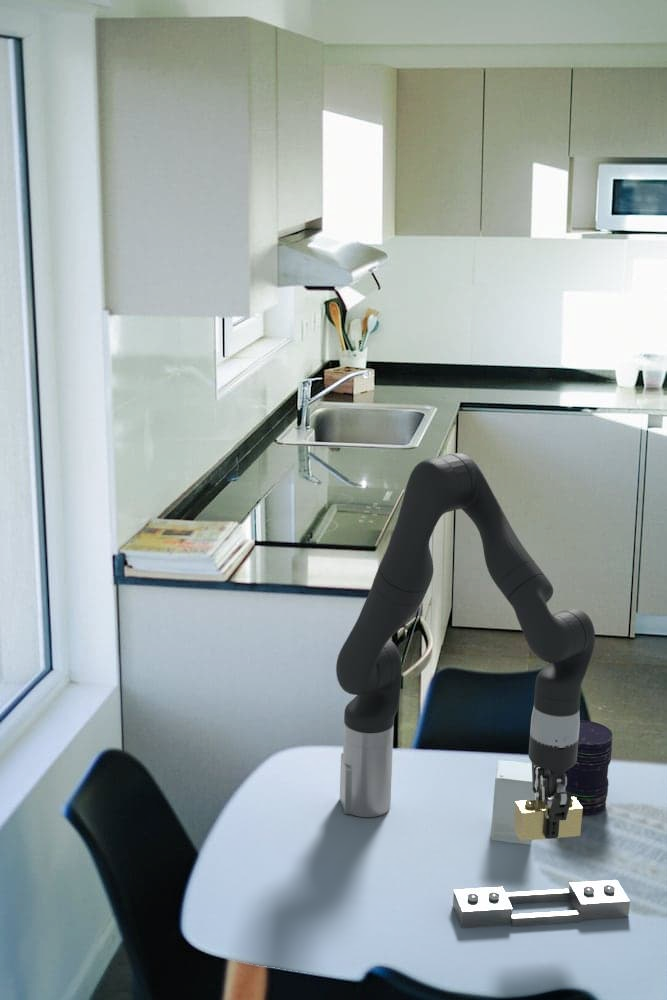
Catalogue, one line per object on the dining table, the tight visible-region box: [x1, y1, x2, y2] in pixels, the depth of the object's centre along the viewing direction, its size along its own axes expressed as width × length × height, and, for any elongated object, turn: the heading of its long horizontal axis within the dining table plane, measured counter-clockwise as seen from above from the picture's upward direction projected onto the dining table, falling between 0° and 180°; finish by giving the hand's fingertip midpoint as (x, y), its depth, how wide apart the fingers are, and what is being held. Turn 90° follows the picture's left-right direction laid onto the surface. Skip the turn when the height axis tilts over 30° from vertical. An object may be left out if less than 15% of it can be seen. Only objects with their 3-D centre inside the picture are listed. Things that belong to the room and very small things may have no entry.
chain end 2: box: [534, 879, 631, 925], centre depth 205 cm, size 14×7×4 cm, turn 98°
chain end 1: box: [452, 886, 548, 929], centre depth 203 cm, size 14×7×4 cm, turn 98°
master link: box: [514, 797, 583, 841], centre depth 199 cm, size 10×4×6 cm, turn 101°
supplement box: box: [490, 759, 536, 846], centre depth 226 cm, size 7×7×13 cm
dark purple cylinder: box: [565, 720, 614, 817], centre depth 236 cm, size 10×10×15 cm
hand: (546, 830), depth 200 cm, fingers closed on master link, 3 cm apart
